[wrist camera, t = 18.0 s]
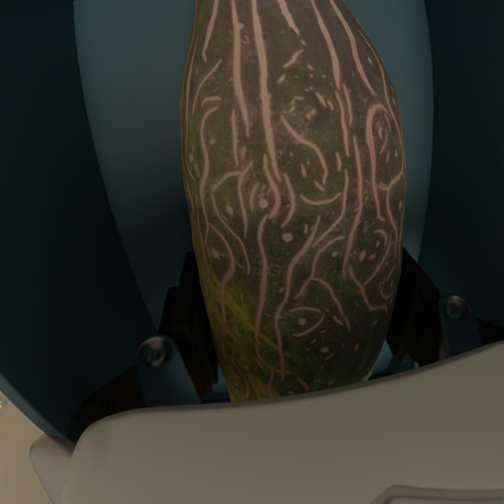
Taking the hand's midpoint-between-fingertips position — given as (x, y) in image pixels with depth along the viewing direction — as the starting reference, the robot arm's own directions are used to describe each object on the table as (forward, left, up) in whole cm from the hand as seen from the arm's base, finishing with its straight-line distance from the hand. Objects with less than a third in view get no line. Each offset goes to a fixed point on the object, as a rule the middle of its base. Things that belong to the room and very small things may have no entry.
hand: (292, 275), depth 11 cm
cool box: (0, +1, -2) cm, 2 cm away
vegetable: (0, -10, +1) cm, 10 cm away
